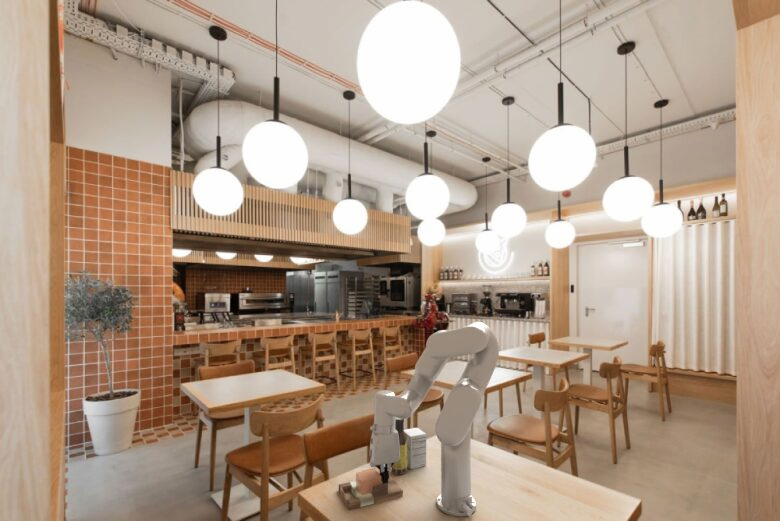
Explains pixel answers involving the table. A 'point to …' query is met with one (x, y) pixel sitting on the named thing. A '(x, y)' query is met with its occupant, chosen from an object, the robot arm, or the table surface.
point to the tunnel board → (378, 495)
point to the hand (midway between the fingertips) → (384, 481)
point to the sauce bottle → (401, 448)
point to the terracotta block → (367, 481)
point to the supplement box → (416, 448)
